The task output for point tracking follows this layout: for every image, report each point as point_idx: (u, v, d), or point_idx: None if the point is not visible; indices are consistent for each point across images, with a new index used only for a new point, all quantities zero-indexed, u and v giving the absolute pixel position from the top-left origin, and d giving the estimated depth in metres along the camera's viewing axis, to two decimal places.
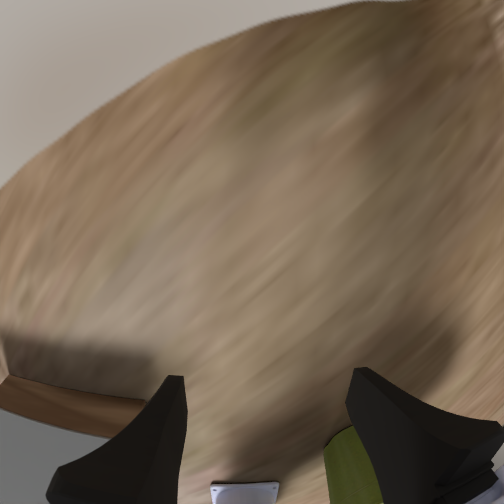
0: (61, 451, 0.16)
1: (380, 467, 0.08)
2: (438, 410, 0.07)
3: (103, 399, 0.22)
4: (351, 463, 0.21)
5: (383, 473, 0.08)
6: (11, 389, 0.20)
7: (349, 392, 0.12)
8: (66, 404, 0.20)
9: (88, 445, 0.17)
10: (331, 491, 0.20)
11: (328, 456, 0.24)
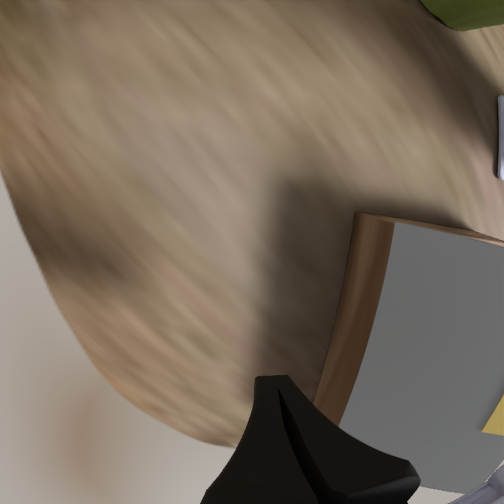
0: (402, 354, 0.14)
1: None
2: (344, 434, 0.07)
3: (349, 271, 0.19)
4: None
5: None
6: (324, 408, 0.20)
7: None
8: (347, 328, 0.18)
9: (396, 301, 0.14)
10: (493, 11, 0.09)
11: (453, 17, 0.13)
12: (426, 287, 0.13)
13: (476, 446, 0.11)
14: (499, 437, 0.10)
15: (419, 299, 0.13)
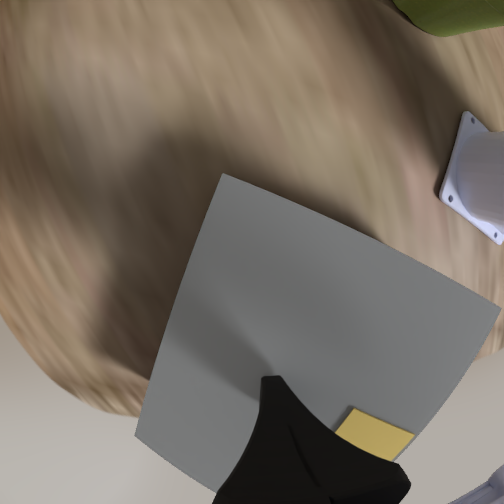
0: (207, 333, 0.13)
1: None
2: (334, 436, 0.07)
3: None
4: None
5: None
6: None
7: None
8: None
9: (206, 266, 0.13)
10: (458, 3, 0.09)
11: (419, 12, 0.13)
12: (242, 256, 0.12)
13: None
14: None
15: (232, 270, 0.12)
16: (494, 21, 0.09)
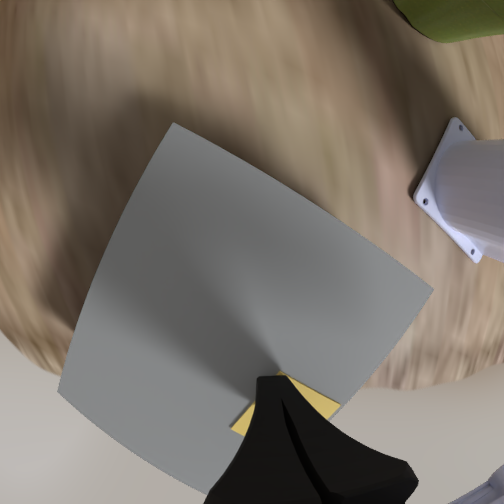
0: (136, 282, 0.12)
1: None
2: (342, 435, 0.07)
3: None
4: None
5: None
6: None
7: None
8: None
9: (142, 213, 0.12)
10: (455, 2, 0.09)
11: (416, 13, 0.13)
12: (180, 205, 0.11)
13: (226, 446, 0.12)
14: None
15: (168, 218, 0.12)
16: (492, 25, 0.09)
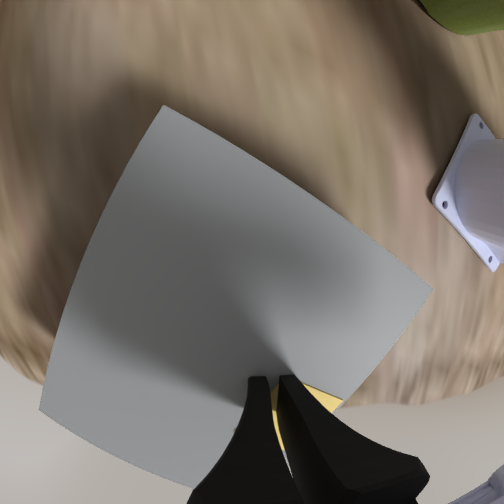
0: (123, 294, 0.10)
1: (297, 484, 0.08)
2: (353, 433, 0.07)
3: None
4: None
5: (299, 491, 0.08)
6: None
7: (277, 400, 0.11)
8: None
9: (127, 215, 0.10)
10: None
11: (435, 0, 0.11)
12: (174, 206, 0.10)
13: None
14: None
15: (160, 221, 0.10)
16: None
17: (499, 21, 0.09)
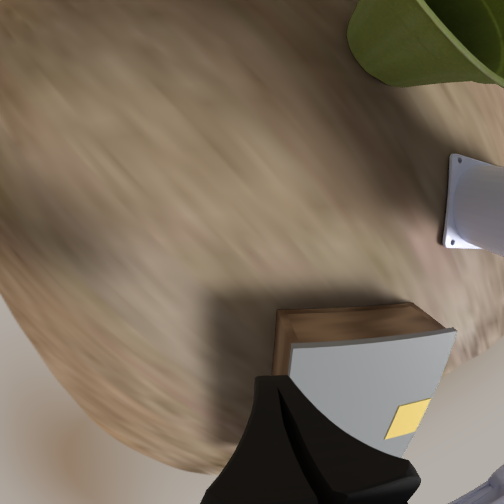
0: None
1: None
2: (344, 434, 0.07)
3: (274, 357, 0.22)
4: (383, 45, 0.13)
5: None
6: None
7: None
8: None
9: None
10: (435, 76, 0.13)
11: (392, 79, 0.16)
12: (322, 382, 0.17)
13: (384, 447, 0.20)
14: (399, 436, 0.20)
15: (318, 390, 0.17)
16: None
17: None
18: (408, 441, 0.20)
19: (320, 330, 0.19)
